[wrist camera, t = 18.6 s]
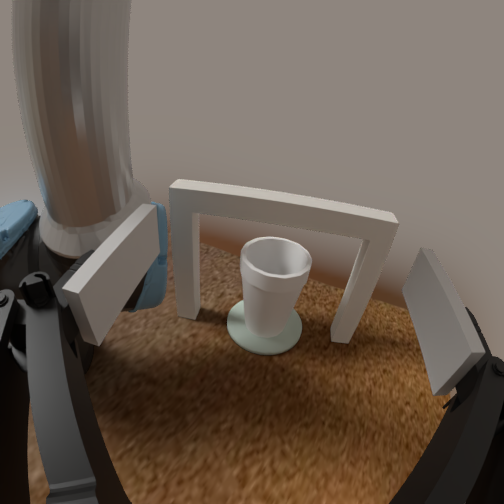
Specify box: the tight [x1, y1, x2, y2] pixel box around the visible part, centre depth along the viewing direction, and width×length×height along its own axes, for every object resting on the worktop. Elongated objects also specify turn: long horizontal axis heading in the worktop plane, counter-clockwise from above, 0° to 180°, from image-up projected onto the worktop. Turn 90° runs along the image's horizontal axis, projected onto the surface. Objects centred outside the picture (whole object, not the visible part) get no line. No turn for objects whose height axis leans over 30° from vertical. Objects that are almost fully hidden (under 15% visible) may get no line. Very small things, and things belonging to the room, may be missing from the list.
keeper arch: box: [169, 179, 399, 355], centre depth 40 cm, size 28×12×22 cm, turn 82°
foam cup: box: [240, 237, 312, 338], centre depth 42 cm, size 10×9×13 cm
